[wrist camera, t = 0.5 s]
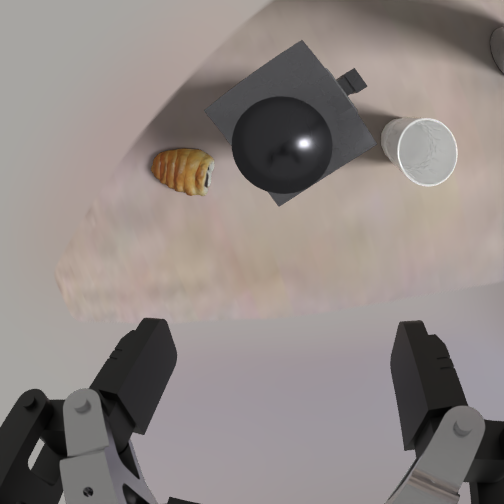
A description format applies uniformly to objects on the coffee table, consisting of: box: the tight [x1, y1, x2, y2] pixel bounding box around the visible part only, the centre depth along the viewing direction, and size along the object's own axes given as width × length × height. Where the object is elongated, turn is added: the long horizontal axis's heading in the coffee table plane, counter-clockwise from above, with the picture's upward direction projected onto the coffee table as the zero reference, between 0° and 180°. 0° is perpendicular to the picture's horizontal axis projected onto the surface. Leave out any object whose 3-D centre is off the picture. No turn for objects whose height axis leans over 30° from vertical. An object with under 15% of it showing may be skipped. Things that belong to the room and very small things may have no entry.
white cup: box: [381, 117, 457, 186], centre depth 34 cm, size 8×8×10 cm
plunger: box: [232, 96, 333, 194], centre depth 17 cm, size 8×8×15 cm
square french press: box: [204, 40, 377, 206], centre depth 30 cm, size 13×10×19 cm
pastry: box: [151, 148, 215, 196], centre depth 43 cm, size 9×7×4 cm
